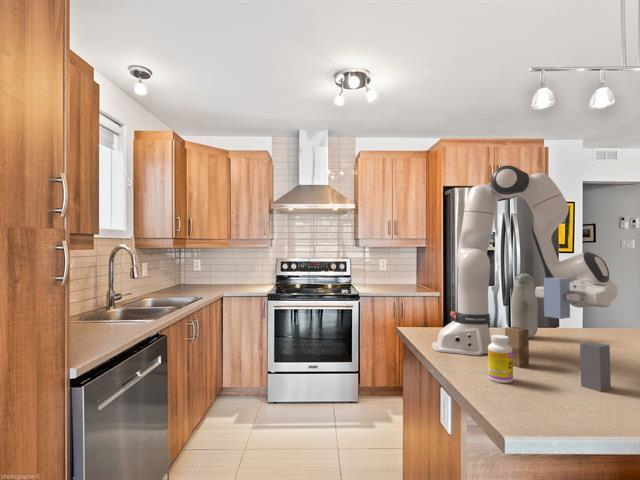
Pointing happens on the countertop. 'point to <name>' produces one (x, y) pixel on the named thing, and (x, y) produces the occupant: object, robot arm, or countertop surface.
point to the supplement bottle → (500, 359)
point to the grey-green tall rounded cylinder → (524, 304)
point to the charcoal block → (595, 366)
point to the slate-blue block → (556, 298)
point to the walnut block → (519, 345)
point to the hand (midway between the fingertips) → (555, 296)
